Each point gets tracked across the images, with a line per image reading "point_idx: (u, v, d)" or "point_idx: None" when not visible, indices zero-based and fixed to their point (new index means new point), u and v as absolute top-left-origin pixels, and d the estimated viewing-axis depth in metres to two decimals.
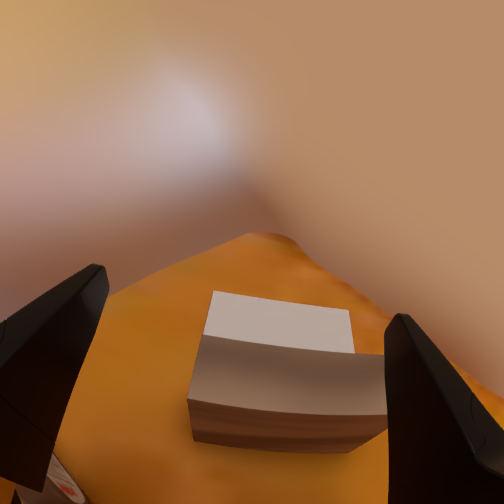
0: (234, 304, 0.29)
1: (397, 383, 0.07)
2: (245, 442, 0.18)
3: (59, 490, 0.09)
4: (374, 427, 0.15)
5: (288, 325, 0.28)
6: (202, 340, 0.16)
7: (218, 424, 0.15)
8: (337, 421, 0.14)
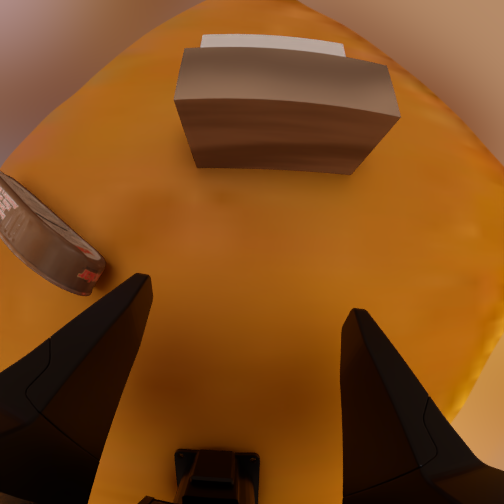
0: (224, 42, 0.24)
1: (350, 382, 0.07)
2: (244, 157, 0.20)
3: (70, 244, 0.15)
4: (368, 132, 0.16)
5: None
6: (185, 53, 0.14)
7: (212, 132, 0.17)
8: (326, 116, 0.15)
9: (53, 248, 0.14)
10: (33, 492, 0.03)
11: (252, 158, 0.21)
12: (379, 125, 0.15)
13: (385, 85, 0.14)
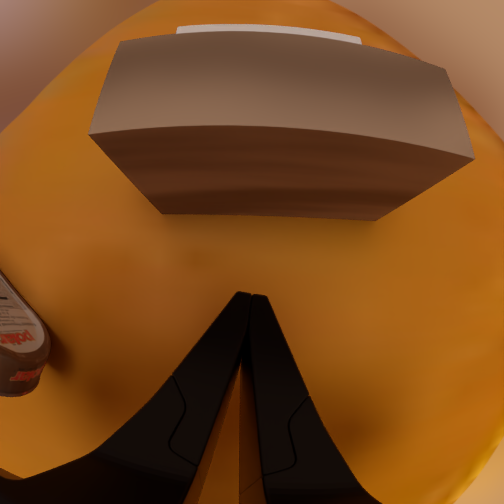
0: None
1: (242, 371, 0.07)
2: (225, 203, 0.14)
3: None
4: (417, 177, 0.10)
5: None
6: (119, 48, 0.08)
7: (168, 176, 0.11)
8: (359, 153, 0.08)
9: None
10: None
11: (237, 205, 0.14)
12: (438, 168, 0.09)
13: (449, 101, 0.08)
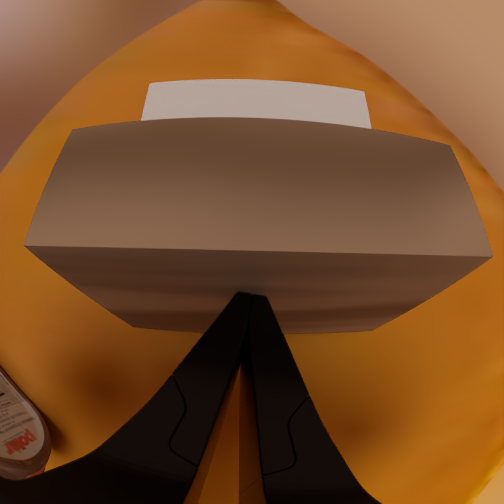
0: (180, 96, 0.16)
1: (242, 371, 0.07)
2: (199, 323, 0.12)
3: (2, 463, 0.07)
4: (423, 287, 0.08)
5: (267, 116, 0.16)
6: (70, 138, 0.07)
7: (125, 295, 0.09)
8: (350, 272, 0.07)
9: None
10: None
11: None
12: (449, 274, 0.07)
13: (458, 187, 0.07)
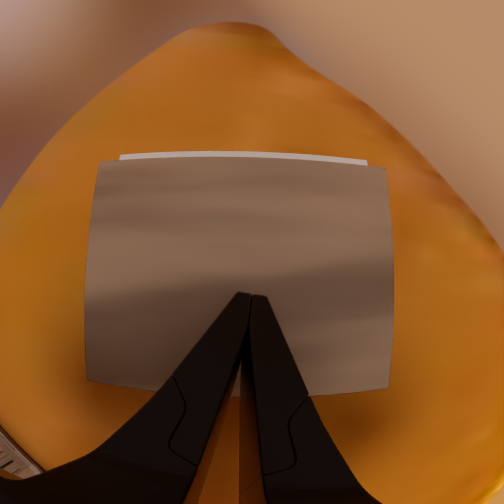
0: None
1: (242, 371, 0.07)
2: (170, 341, 0.10)
3: None
4: (366, 218, 0.11)
5: None
6: None
7: (124, 244, 0.11)
8: (292, 184, 0.11)
9: None
10: None
11: (185, 346, 0.10)
12: (371, 193, 0.11)
13: None
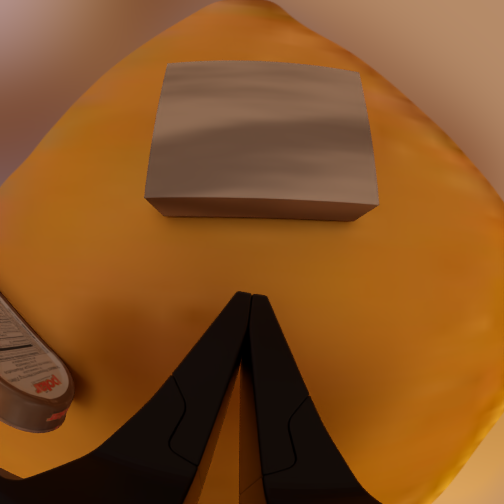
0: None
1: (242, 371, 0.07)
2: (217, 159, 0.15)
3: (31, 399, 0.11)
4: (347, 96, 0.15)
5: None
6: None
7: (186, 105, 0.15)
8: (298, 75, 0.16)
9: (16, 405, 0.10)
10: None
11: (228, 162, 0.15)
12: (349, 84, 0.16)
13: None
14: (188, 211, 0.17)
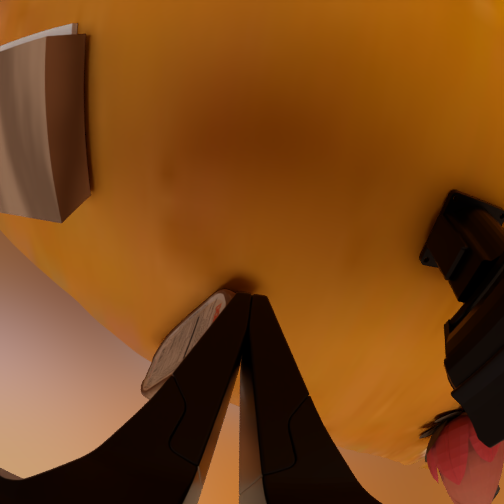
0: None
1: (242, 371, 0.07)
2: (31, 171, 0.15)
3: None
4: None
5: None
6: None
7: (6, 194, 0.16)
8: None
9: None
10: None
11: (30, 163, 0.14)
12: None
13: None
14: (79, 180, 0.18)
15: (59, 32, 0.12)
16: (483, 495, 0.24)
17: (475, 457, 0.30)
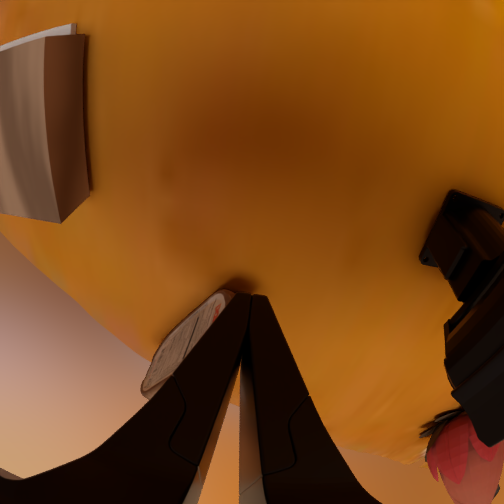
0: None
1: (242, 371, 0.07)
2: (30, 172, 0.15)
3: None
4: None
5: None
6: None
7: (5, 195, 0.16)
8: None
9: None
10: None
11: (30, 164, 0.14)
12: None
13: None
14: (78, 180, 0.18)
15: (57, 32, 0.12)
16: (483, 494, 0.24)
17: (475, 456, 0.30)
